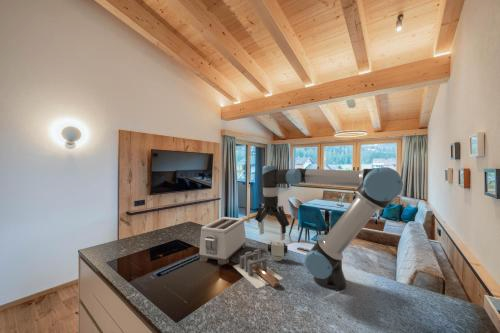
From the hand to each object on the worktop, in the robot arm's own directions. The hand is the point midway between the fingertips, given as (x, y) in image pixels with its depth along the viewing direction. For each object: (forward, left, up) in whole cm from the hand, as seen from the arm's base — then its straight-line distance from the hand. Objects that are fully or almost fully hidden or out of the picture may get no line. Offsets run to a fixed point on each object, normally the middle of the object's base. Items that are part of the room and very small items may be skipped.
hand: (271, 236), depth 107 cm
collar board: (+10, +4, -22) cm, 25 cm away
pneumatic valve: (+15, -15, -22) cm, 31 cm away
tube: (+2, +4, -21) cm, 22 cm away
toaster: (+43, +8, -23) cm, 50 cm away
